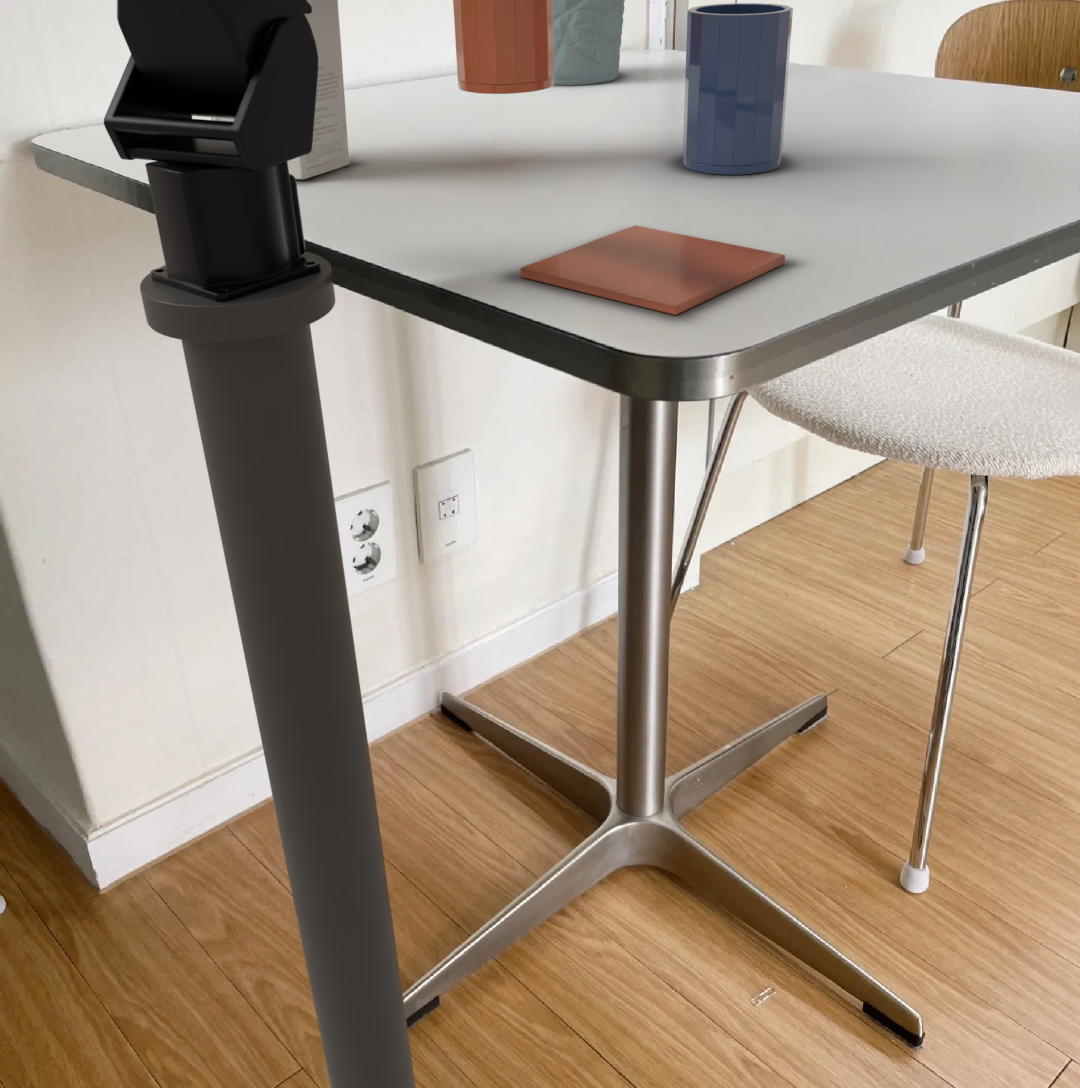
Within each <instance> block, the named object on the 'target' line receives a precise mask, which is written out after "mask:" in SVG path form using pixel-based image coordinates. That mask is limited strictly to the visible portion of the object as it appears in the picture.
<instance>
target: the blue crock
mask: <svg viewBox="0 0 1080 1088" xmlns="http://www.w3.org/2000/svg"><path fill="white" fill-rule="evenodd" d="M793 14H794V8H793V7H791V6H789V5H785V4H777V3H758V2H735V3H733V2H731V3H716V4H704V5H699V6H692V7H691V8H689V9H687V14H686V15H687V17H686V45H685V46H686V47H685V76H684V77H685V79H684V103H683V104H684V106H683V107H684V109H683V137H682V155H683V158H682V159H683V160H682V161H683V162H682V163H683V166H684V167H685V168H687V169H689V170H691V171H694V172H697V173H703V174H709V175H723V176H724V175H725V176H734V175H735V176H740V175H741V176H742V175H756V174H762V173H766V172H770V171H773V170H775V169H778V168H779V167H780V166H781V163H782V155H783V145H784V134H785V133H784V131H785V119H786V105H787V93H788V92H787V91H788V80H789V65H790V54H791V53H790V52H791V39H792V27H793Z"/></svg>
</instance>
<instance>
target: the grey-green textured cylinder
mask: <svg viewBox="0 0 1080 1088" xmlns="http://www.w3.org/2000/svg"><path fill="white" fill-rule="evenodd" d="M625 2H626V0H553V35H554V86H555V85H557V86H580V85H583V86H584V85H594V84H602V83H608V82H611V81H612V82H613V81H614V80H616V79H617V78H618V77H619V72H620V71H619V70H620V59H621V46H622V35H623V26H624V25H623V23H624V13H625Z"/></svg>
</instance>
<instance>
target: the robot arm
mask: <svg viewBox="0 0 1080 1088" xmlns="http://www.w3.org/2000/svg"><path fill="white" fill-rule="evenodd" d="M311 12H312V7H311V5H310V4H309V3H308V2H307V0H116V20H117V24H118V26H119V28H120V31H121V34H122V36H123V39H124V40H125V43H126V45H127V47H128V50H129V52H130V56H129V57H128V58H129V59H128V61H127V63H126V66H125V68H124V70H123V72H122V75H121V77H120V80H119V82H118V84H117V87H116V88H115V92H114V94H113V97H112V98H111V101H110V104H109V105H108V108H107V110H106V112H105V115H104V118H103V125H104V129H105V130H106V132H107V134H108V136H109V138H110V140H111V142H112V144H113V147H114V148H115V150H116V152H117V154H118V156H119V158H120V159H121V160H126V161H133V160H145V161H150V162H146V163H145V164H144V165H145V170H146V174H147V180H148V185H149V189H150V194H151V200H152V205H153V210H154V214H155V220H156V225H157V230H158V234H159V240H160V245H161V250H162V255H163V260H164V265H166V266H164V265H163V266H164V267H162V266H160V267H161V268H160V267H157V268H153V269H152V270H151V271H150V273H151V277H152V280H153V281H155V282H158V283H161V284H164V285H167V286H171V287H174V288H177V289H180V290H183V291H186V292H189V293H192V294H195V295H198V296H201V297H204V298H207V299H210V300H213V301H216V302H228V301H231V300H234V299H238V298H241V297H244V296H247V295H250V294H253V293H256V292H259V291H262V290H265V289H268V288H272V287H275V286H278V285H281V284H284V283H287V282H290V281H293V280H296V279H299V278H302V277H306V276H309V275H312V274H315V273H318V272H320V271H321V268H320V262H318V261H315V260H312V259H308V258H304V257H301V256H300V255H303V254H304V253H305V252H306V242H305V236H304V227H303V221H302V214H301V207H300V200H299V192H298V191H299V190H298V185H297V179H296V178H295V177H294V176H293V175H291V174H289V169H288V162H287V161H289V160H292V159H295V158H298V157H300V156H303V155H306V154H309V153H310V152H311V151H312V143H313V130H314V117H315V105H316V92H317V79H318V51H317V47H316V42H315V39H314V36H313V32H312V29H311V26H310V24H309V22H308V20H307V18H306V16H305V14H310V13H311ZM193 117H203V118H204V117H205V118H211V117H217V118H230V119H234V122H229V121H215V120H211V119H202V118H201V119H199V118H193Z"/></svg>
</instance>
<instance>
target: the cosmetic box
mask: <svg viewBox="0 0 1080 1088" xmlns="http://www.w3.org/2000/svg"><path fill="white" fill-rule="evenodd" d="M307 2H308V3H309V4H310V5H311V7H312V12H311V13H310V14H305V16H306V18H307V20H308V22H309V24H310V26H311V29H312V32H313V36H314V39H315V42H316V47H317V51H318V79H317V92H316V105H315V117H314V130H313V143H312V151H311V152H310V153H309V154H306V155H303V156H300V157H298V158H295V159H292V160H289V161H287V162H288V169H289V174H291V175H293V176H294V177H295V178H296V180H307V179H310V178H314V177H316V176H319V175H322V174H325V173H328V172H332V171H335V170H339V169H341V168H343V167H347V166H349V165H350V155H349V153H350V152H349V140H348V128H347V127H348V126H347V111H346V99H345V83H344V70H343V54H342V41H341V40H342V39H341V29H340V14H339V0H307ZM210 120H215V121H229V122H234V119H230V118H217V117H210Z"/></svg>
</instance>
